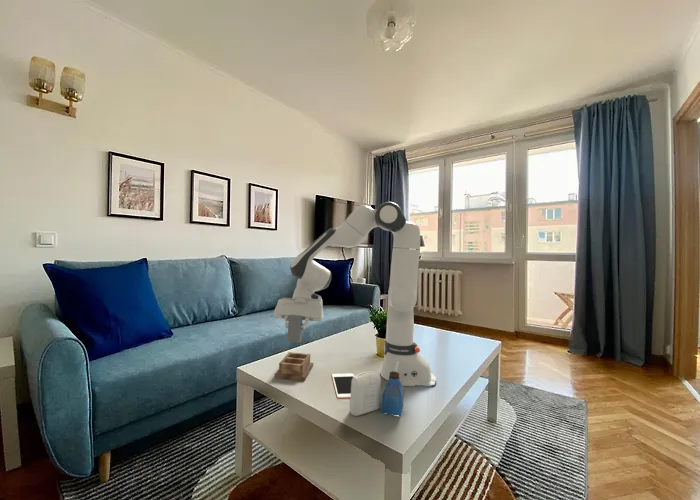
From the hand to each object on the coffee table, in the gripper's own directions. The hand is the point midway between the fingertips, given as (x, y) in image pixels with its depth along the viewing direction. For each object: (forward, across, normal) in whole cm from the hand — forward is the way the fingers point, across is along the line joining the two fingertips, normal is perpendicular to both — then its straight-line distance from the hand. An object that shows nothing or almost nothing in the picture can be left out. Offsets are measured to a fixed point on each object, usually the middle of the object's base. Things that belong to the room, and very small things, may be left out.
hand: (294, 328), depth 115 cm
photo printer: (+27, +30, 0) cm, 40 cm away
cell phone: (+16, +22, +11) cm, 30 cm away
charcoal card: (+3, 0, +4) cm, 5 cm away
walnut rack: (+11, 0, +16) cm, 19 cm away
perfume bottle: (+25, +39, +2) cm, 47 cm away
